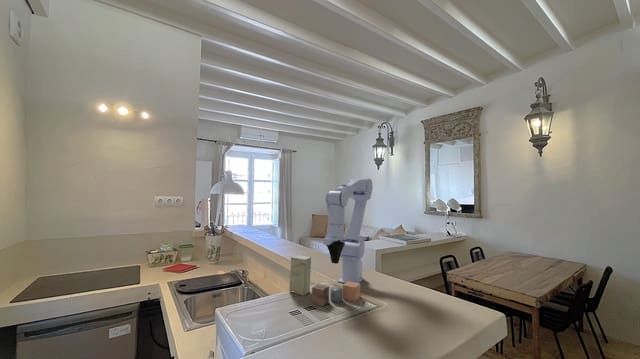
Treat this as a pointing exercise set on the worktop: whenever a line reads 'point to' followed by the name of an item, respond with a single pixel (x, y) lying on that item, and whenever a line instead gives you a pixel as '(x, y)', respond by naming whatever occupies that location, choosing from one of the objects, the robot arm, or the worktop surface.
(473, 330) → the worktop surface
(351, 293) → the terracotta cube
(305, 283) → the skincare box
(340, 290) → the blue-grey short cylinder
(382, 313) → the worktop surface
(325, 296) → the walnut block
